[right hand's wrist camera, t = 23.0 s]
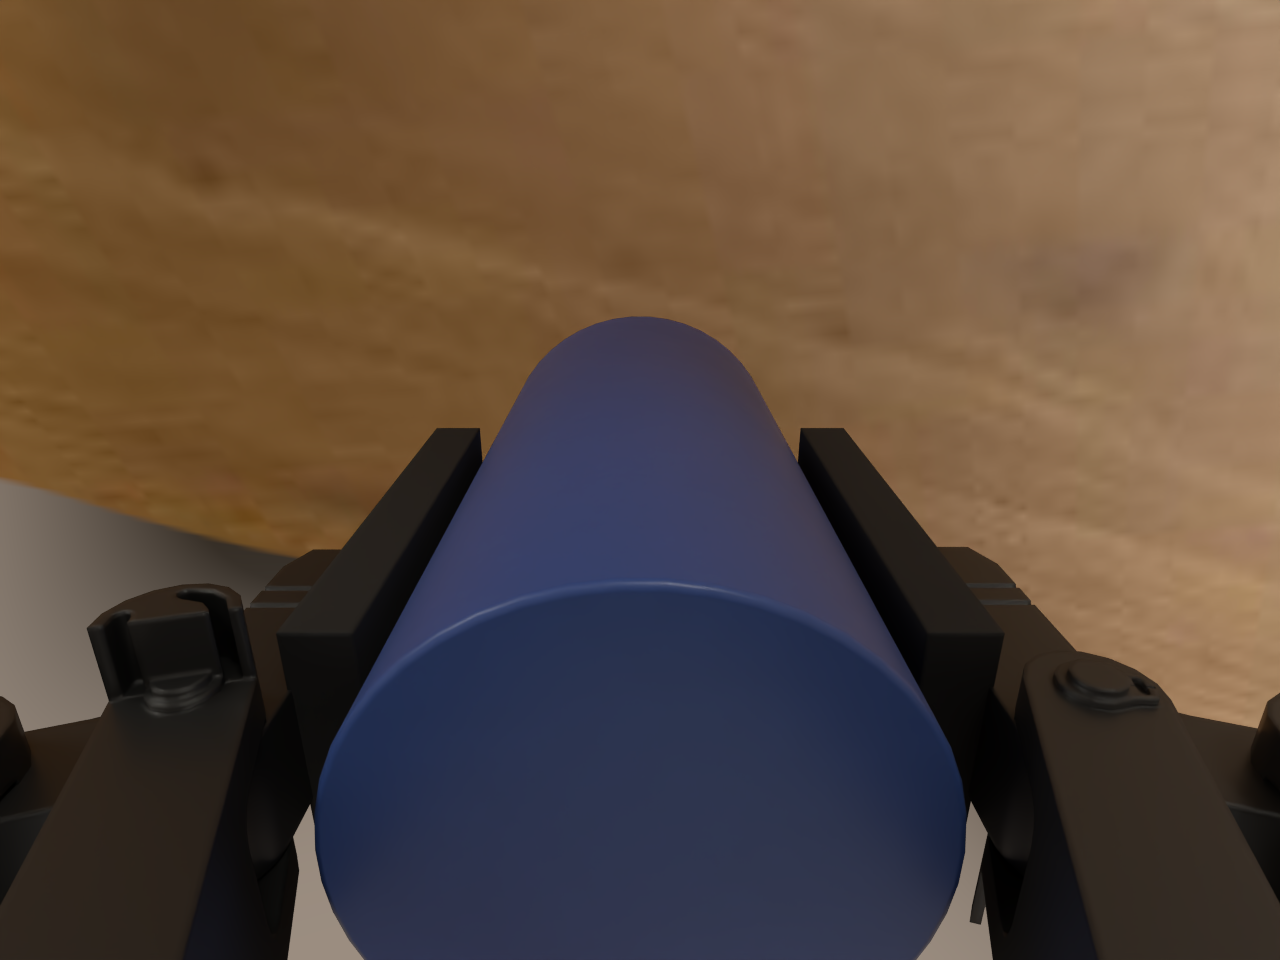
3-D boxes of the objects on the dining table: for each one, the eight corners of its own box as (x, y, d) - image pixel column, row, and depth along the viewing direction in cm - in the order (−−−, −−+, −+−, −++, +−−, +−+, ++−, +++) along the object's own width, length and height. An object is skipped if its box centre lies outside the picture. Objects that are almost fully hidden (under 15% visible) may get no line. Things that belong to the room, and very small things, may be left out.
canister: (821, 434, 17) (1106, 848, 7) (650, 602, 19) (663, 1150, 8) (627, 257, 16) (602, 431, 5) (459, 455, 17) (184, 890, 7)
